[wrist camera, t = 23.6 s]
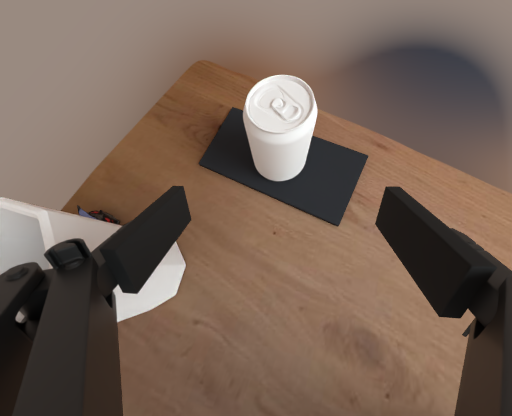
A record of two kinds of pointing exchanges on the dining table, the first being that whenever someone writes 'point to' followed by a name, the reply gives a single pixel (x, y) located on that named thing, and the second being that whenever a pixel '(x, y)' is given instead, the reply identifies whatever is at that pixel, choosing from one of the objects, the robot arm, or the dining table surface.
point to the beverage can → (280, 125)
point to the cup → (93, 233)
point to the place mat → (299, 187)
